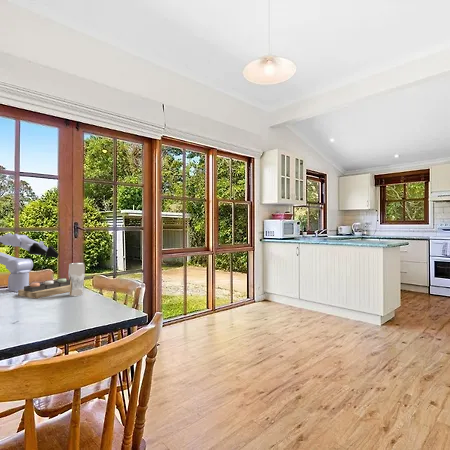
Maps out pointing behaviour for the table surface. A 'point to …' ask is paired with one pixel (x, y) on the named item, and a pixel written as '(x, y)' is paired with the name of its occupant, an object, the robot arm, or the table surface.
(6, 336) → the table surface
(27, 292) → the button panel
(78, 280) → the beer glass
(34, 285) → the button terracotta
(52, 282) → the button grey
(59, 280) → the button green
